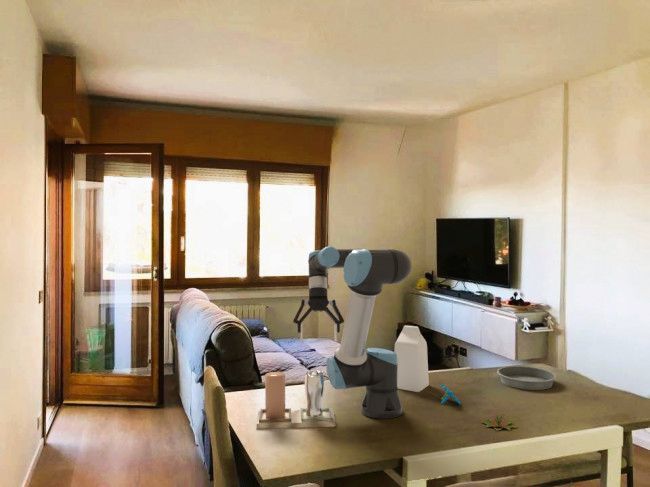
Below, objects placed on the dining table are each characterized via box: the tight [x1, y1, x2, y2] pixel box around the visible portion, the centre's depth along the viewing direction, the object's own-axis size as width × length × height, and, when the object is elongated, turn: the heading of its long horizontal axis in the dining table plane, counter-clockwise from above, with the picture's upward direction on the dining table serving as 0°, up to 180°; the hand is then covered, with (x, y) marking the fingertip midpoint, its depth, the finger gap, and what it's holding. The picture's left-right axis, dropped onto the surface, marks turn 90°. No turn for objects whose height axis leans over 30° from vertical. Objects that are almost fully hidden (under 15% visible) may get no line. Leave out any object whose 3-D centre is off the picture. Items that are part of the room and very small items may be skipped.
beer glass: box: [304, 370, 325, 418], centre depth 193 cm, size 7×7×15 cm
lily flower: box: [481, 412, 519, 432], centre depth 187 cm, size 12×12×5 cm
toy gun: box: [440, 383, 462, 405], centre depth 211 cm, size 11×6×10 cm
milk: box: [393, 325, 430, 393], centre depth 233 cm, size 12×12×26 cm
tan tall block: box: [264, 371, 286, 419], centre depth 191 cm, size 7×7×15 cm
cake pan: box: [496, 365, 558, 391], centre depth 239 cm, size 25×25×4 cm
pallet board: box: [256, 407, 336, 429], centre depth 192 cm, size 27×13×3 cm, turn 94°
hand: (318, 341), depth 213 cm, fingers open, 13 cm apart
